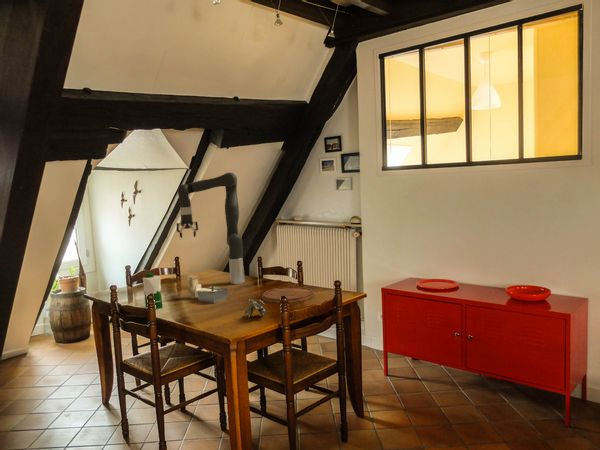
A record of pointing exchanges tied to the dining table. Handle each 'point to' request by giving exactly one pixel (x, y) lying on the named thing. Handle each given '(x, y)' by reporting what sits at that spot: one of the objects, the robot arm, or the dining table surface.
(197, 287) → the gauge plunger
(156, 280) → the milk carton
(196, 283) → the beech block
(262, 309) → the passion flower
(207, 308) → the dining table surface
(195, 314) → the dining table surface
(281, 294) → the cutting board
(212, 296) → the gauge housing
